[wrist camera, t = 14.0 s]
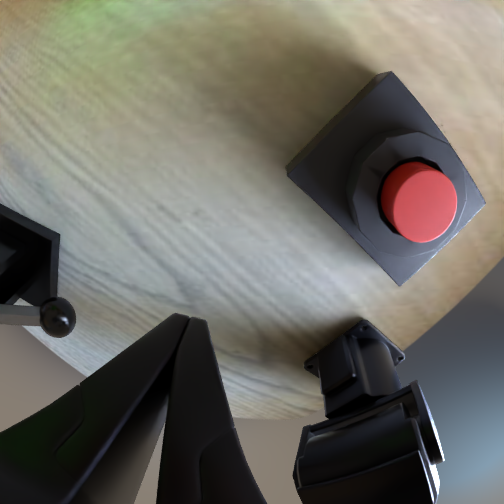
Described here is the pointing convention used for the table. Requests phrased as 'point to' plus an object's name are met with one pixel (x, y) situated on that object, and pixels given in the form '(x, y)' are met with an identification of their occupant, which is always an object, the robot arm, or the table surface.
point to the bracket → (27, 259)
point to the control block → (381, 172)
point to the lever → (42, 316)
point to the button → (419, 201)
